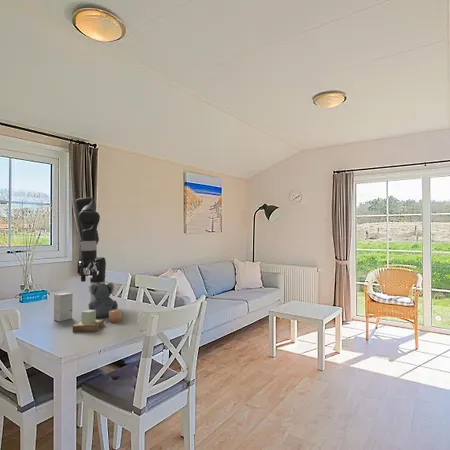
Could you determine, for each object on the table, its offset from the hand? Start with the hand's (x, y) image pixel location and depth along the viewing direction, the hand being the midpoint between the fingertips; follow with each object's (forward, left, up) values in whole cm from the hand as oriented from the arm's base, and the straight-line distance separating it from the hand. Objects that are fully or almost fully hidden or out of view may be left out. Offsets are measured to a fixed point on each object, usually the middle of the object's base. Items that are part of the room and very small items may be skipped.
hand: (88, 280), depth 179 cm
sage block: (0, 0, -22) cm, 22 cm away
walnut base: (0, 0, -25) cm, 25 cm away
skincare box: (-10, -26, -26) cm, 38 cm away
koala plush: (-26, -11, -26) cm, 38 cm away
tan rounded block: (-16, +5, -25) cm, 30 cm away
